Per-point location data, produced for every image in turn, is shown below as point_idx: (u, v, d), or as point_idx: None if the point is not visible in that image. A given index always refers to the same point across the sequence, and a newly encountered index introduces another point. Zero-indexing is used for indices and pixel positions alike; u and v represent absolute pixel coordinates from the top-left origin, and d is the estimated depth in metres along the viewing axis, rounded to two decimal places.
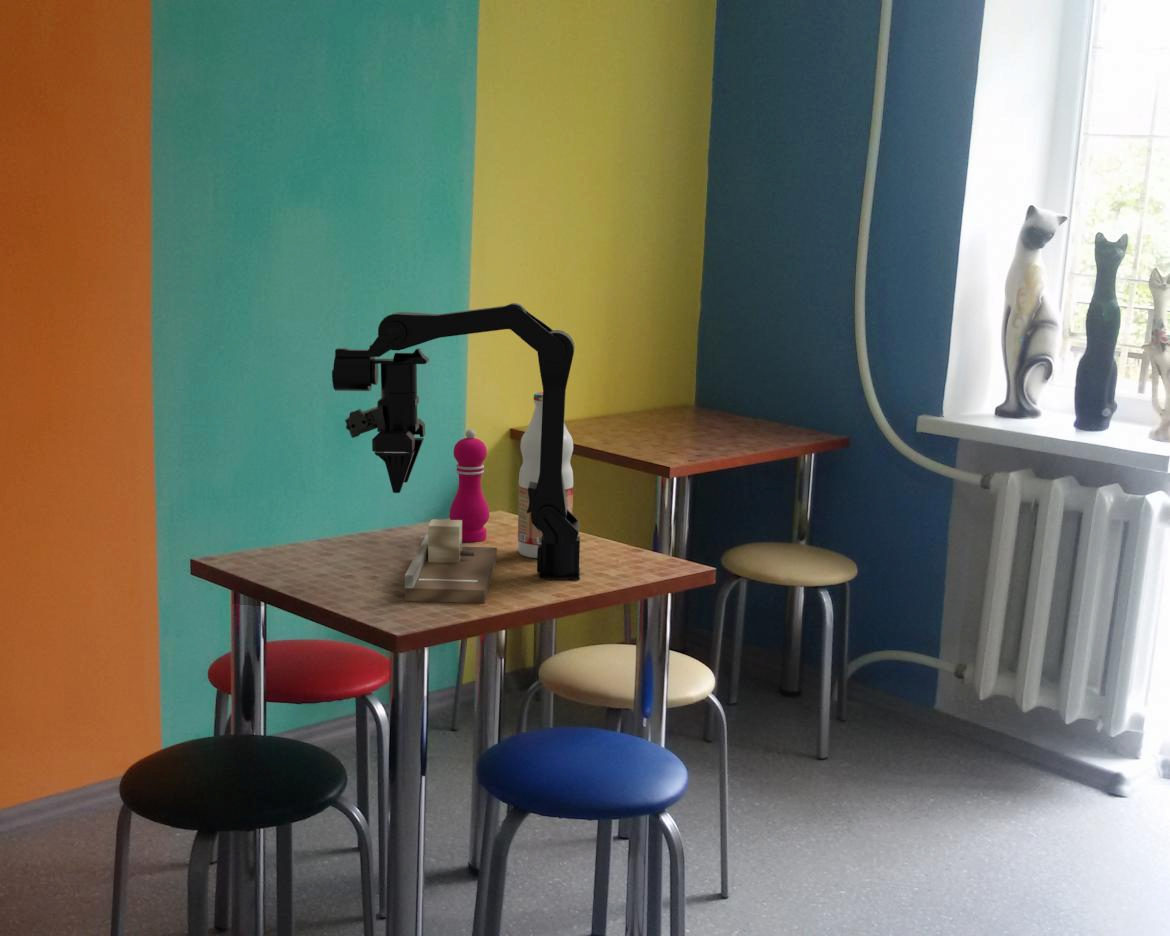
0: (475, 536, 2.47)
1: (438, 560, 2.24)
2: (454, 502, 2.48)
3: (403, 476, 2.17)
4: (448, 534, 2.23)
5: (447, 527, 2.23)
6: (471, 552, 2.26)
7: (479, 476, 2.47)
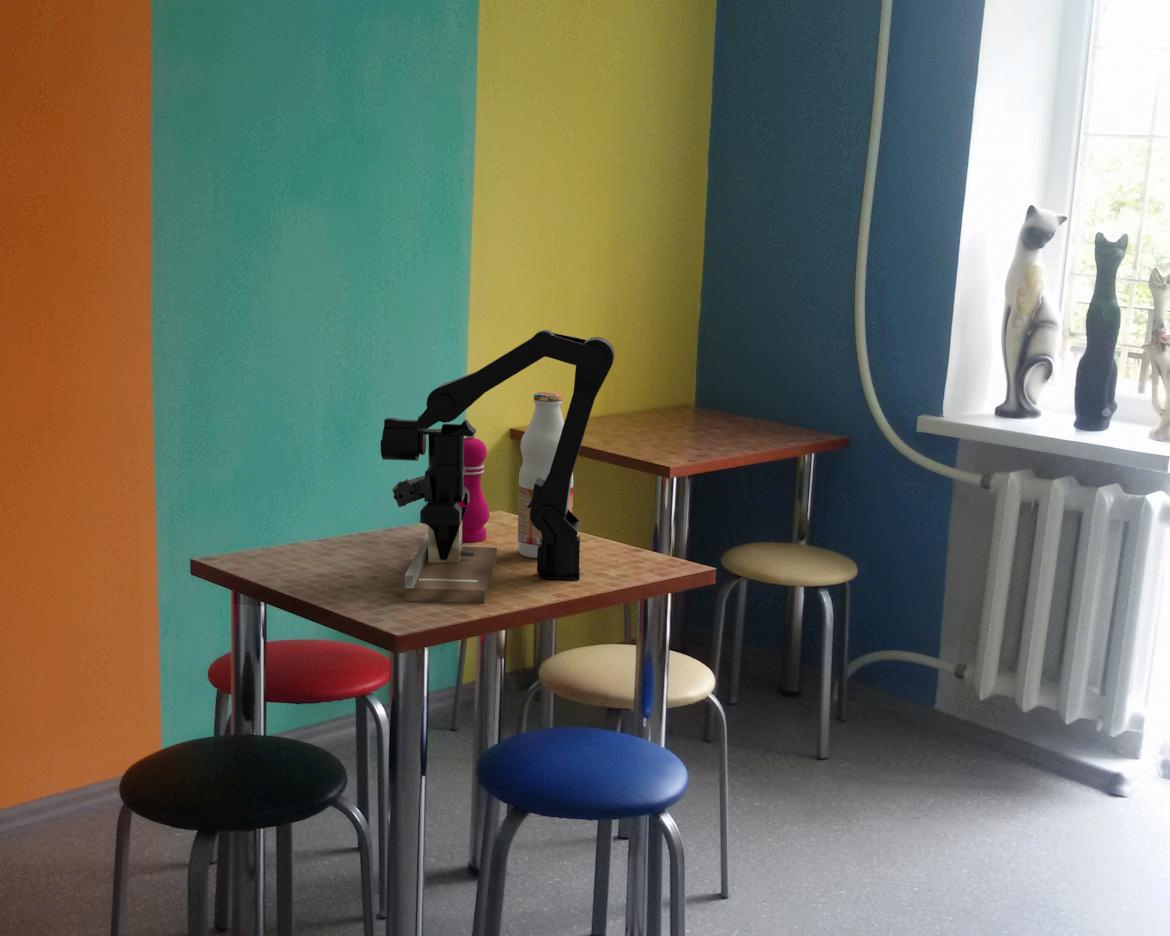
0: (475, 536, 2.47)
1: (438, 560, 2.24)
2: None
3: (450, 544, 2.22)
4: None
5: None
6: (471, 552, 2.26)
7: (479, 476, 2.47)
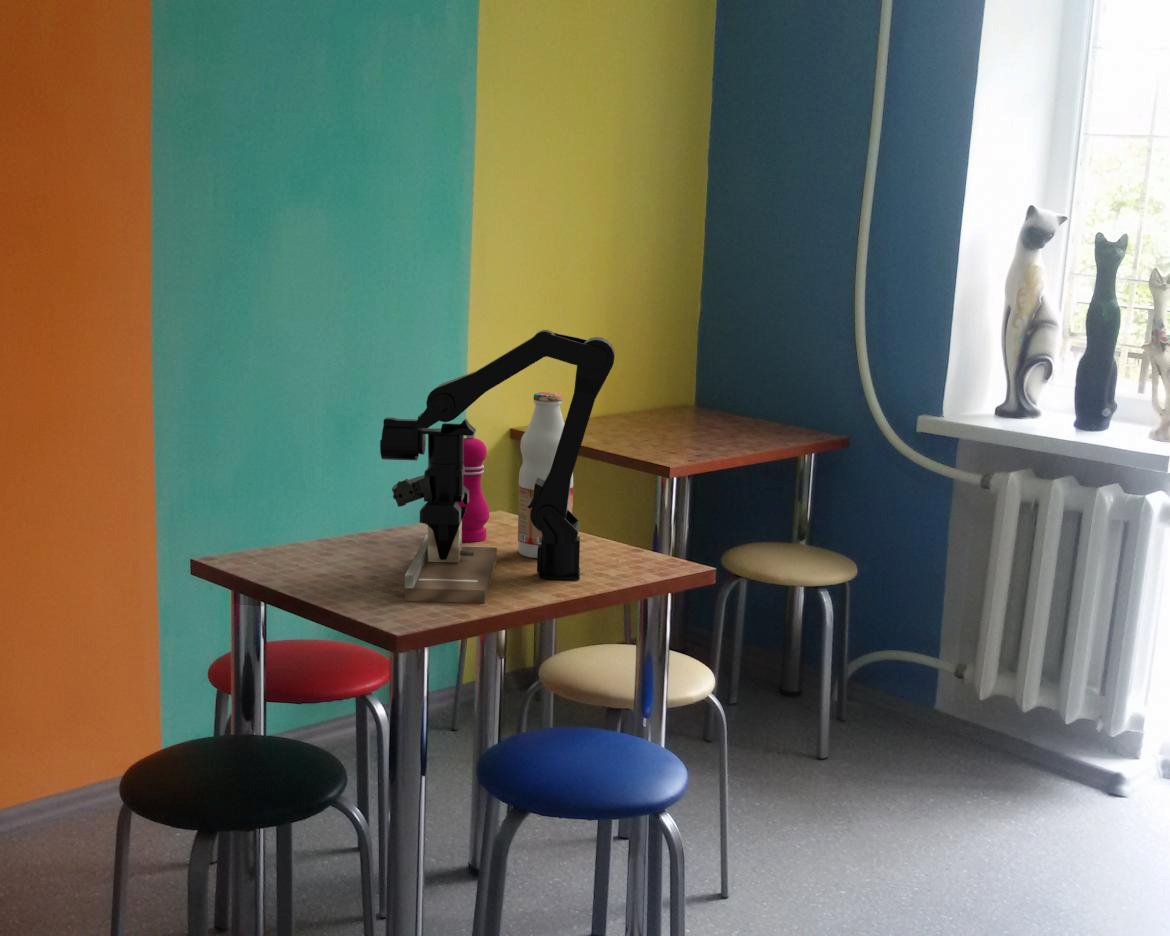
0: (475, 536, 2.47)
1: (438, 560, 2.23)
2: None
3: (450, 543, 2.22)
4: None
5: None
6: (471, 552, 2.25)
7: (479, 476, 2.47)
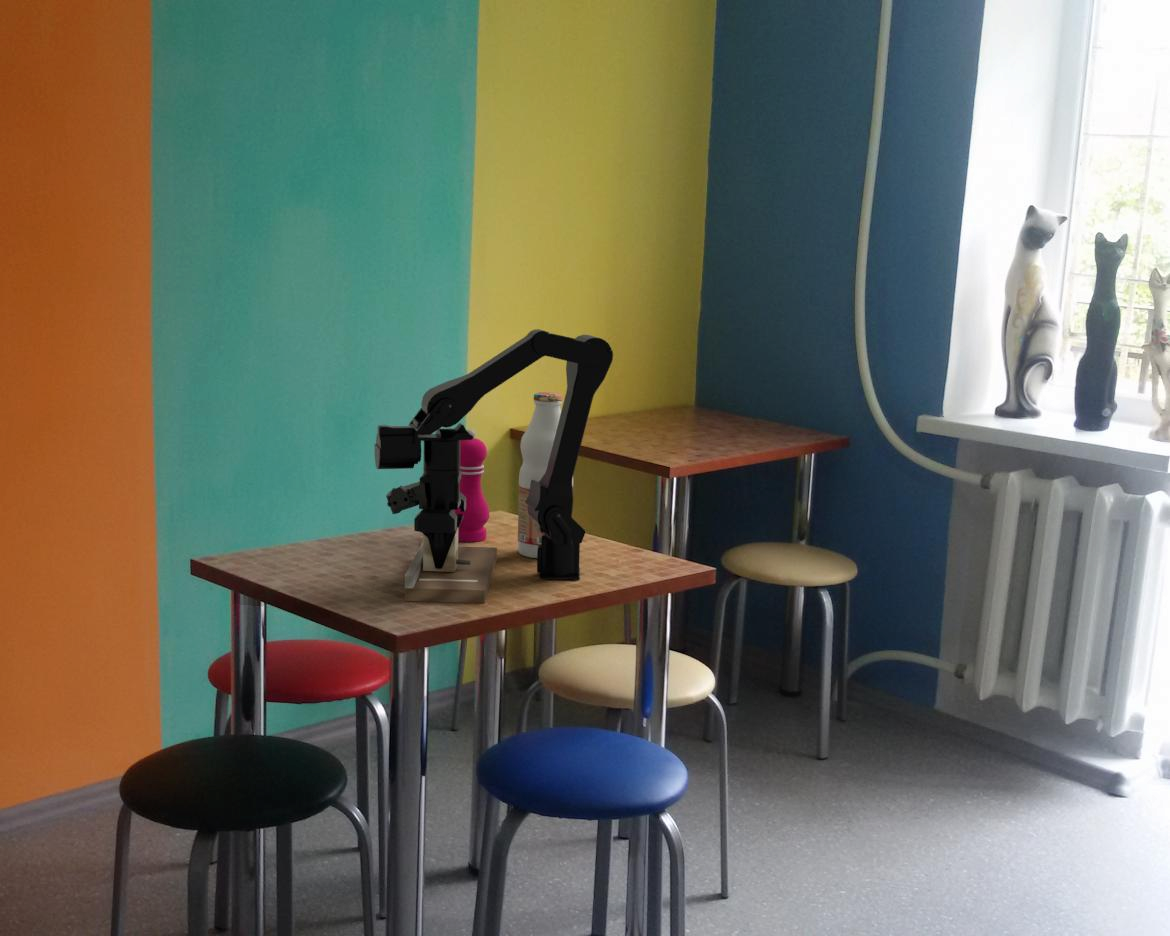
0: (475, 536, 2.47)
1: (433, 569, 2.17)
2: None
3: (446, 552, 2.16)
4: None
5: None
6: (467, 561, 2.19)
7: (479, 476, 2.47)
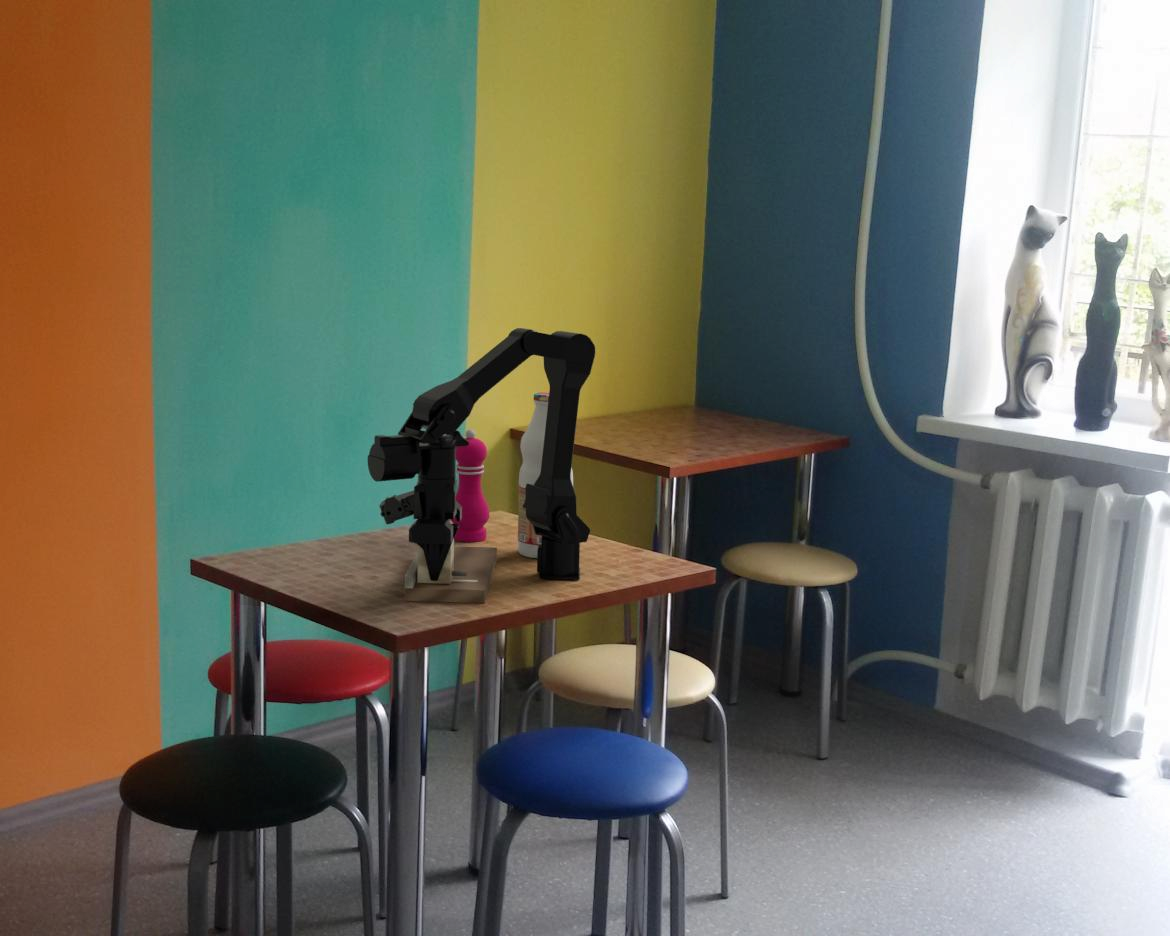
0: (475, 536, 2.47)
1: (428, 581, 2.10)
2: None
3: (441, 564, 2.08)
4: None
5: None
6: (463, 572, 2.12)
7: (479, 476, 2.47)
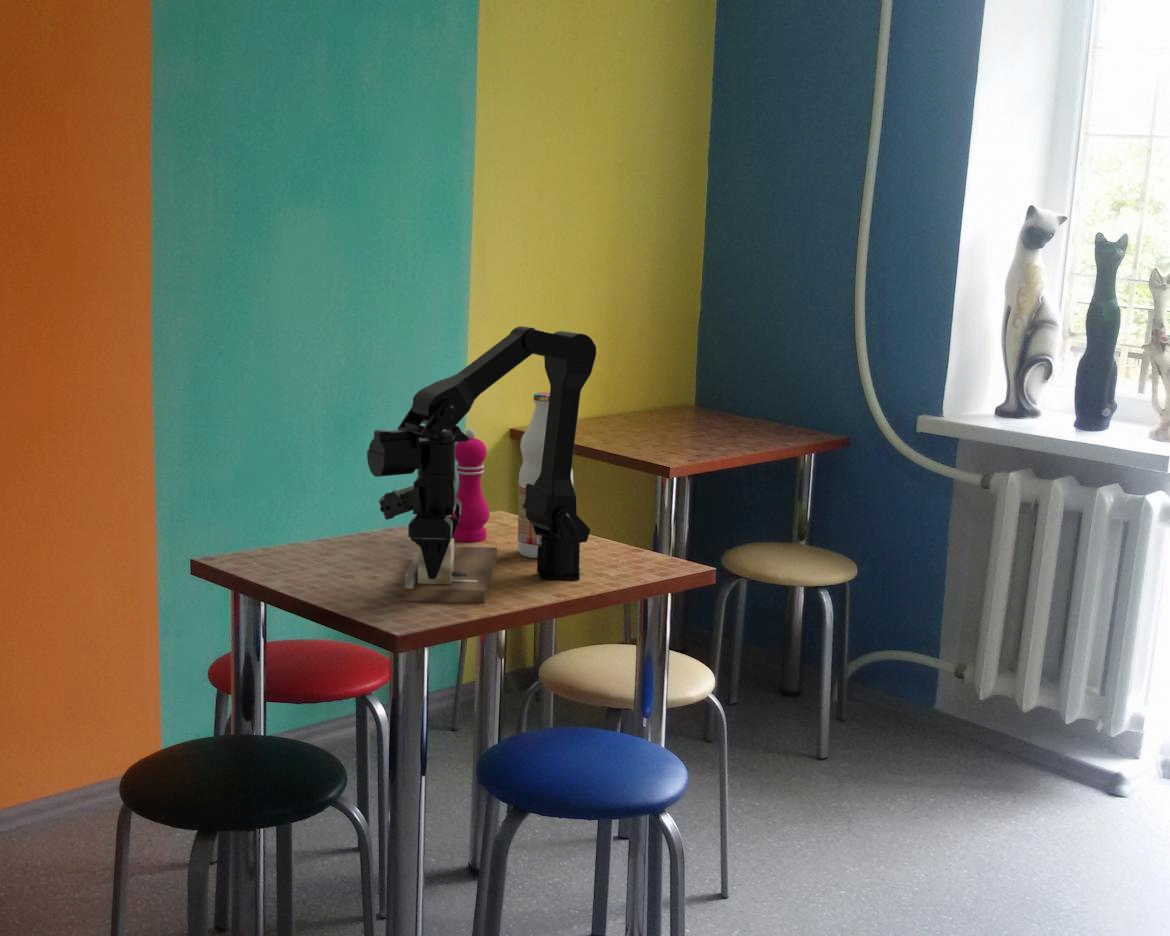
0: (475, 536, 2.47)
1: (428, 581, 2.10)
2: None
3: (440, 562, 2.06)
4: None
5: None
6: (463, 573, 2.12)
7: (479, 476, 2.47)
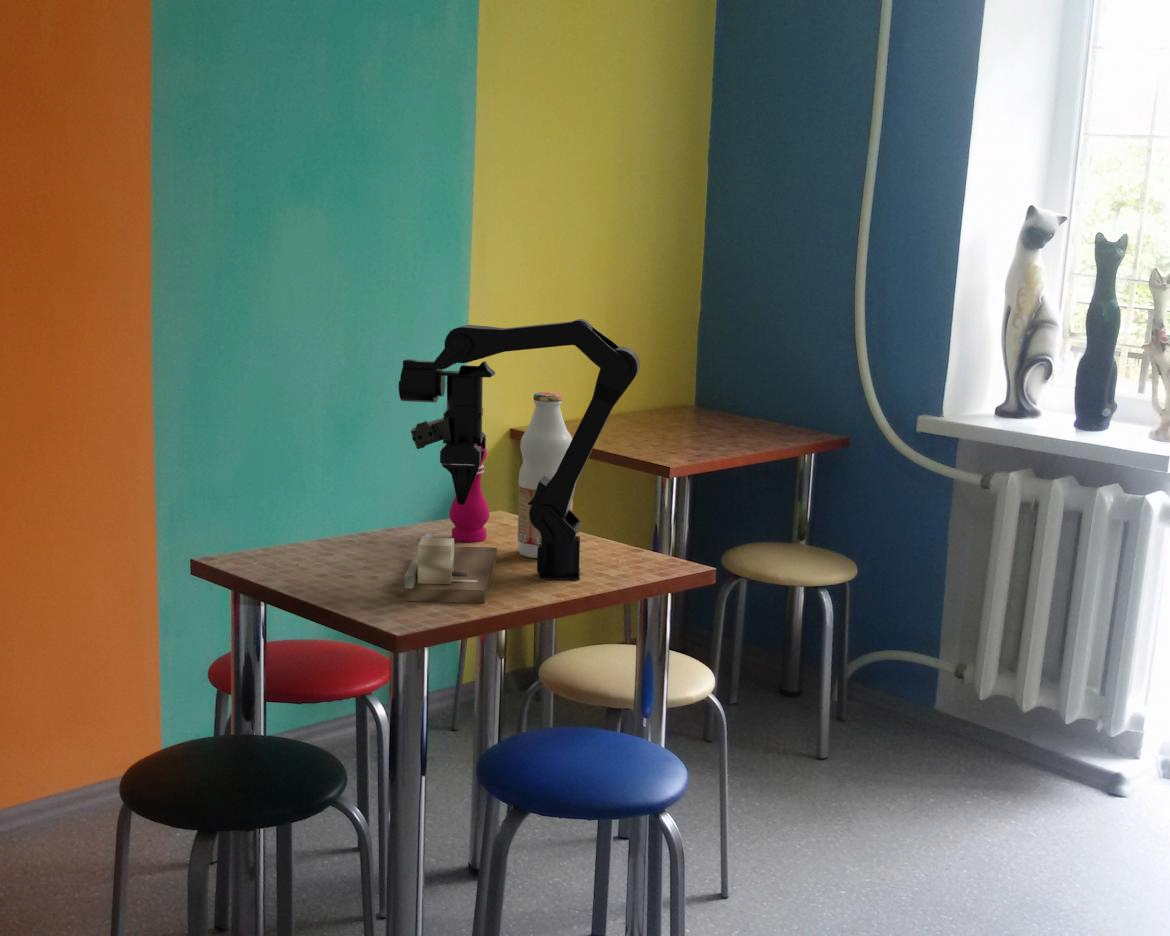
0: (475, 536, 2.47)
1: (428, 581, 2.10)
2: (454, 502, 2.48)
3: (469, 488, 2.19)
4: (439, 554, 2.09)
5: (438, 546, 2.09)
6: (463, 573, 2.12)
7: (479, 476, 2.47)
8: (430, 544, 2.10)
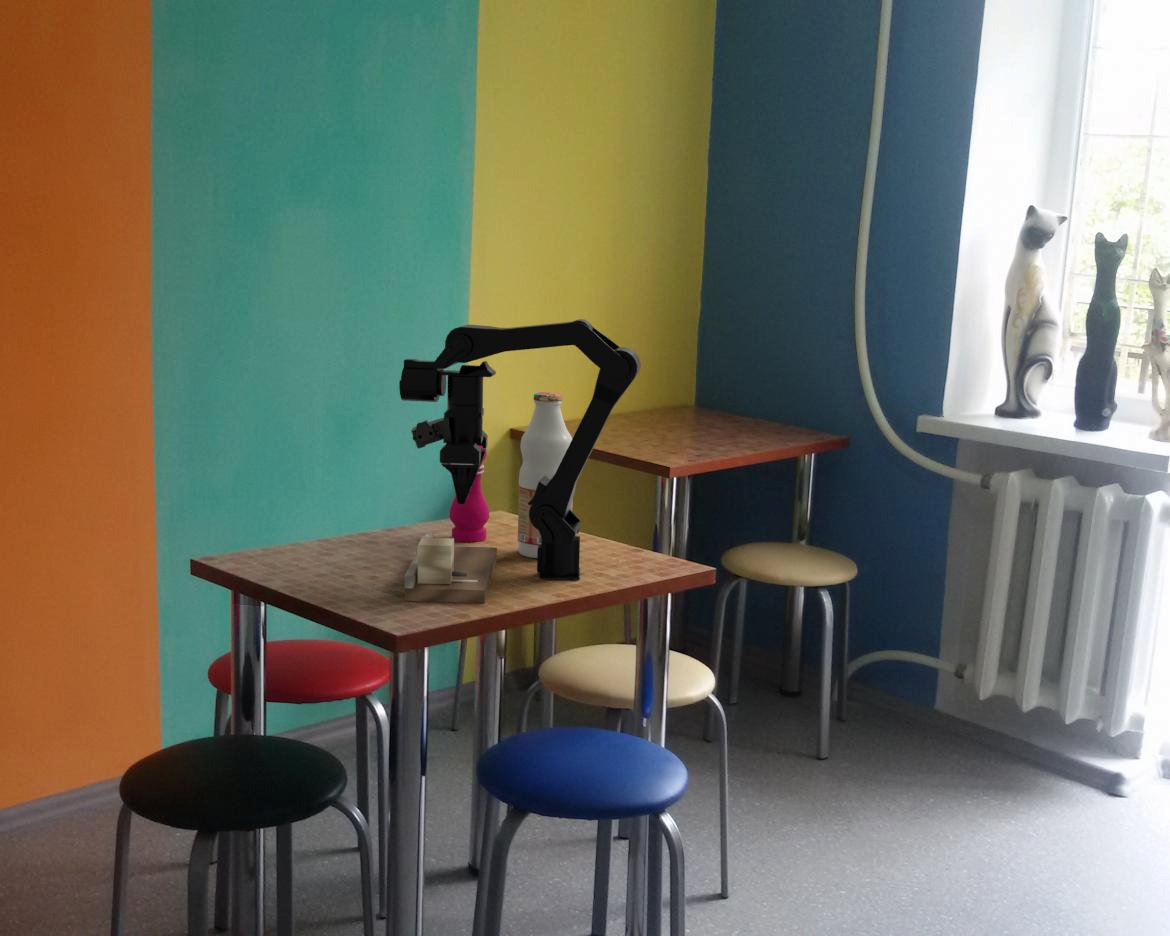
0: (475, 536, 2.47)
1: (428, 581, 2.10)
2: (454, 502, 2.48)
3: (468, 487, 2.20)
4: (439, 554, 2.09)
5: (438, 546, 2.09)
6: (463, 573, 2.12)
7: (479, 476, 2.47)
8: (430, 544, 2.10)
